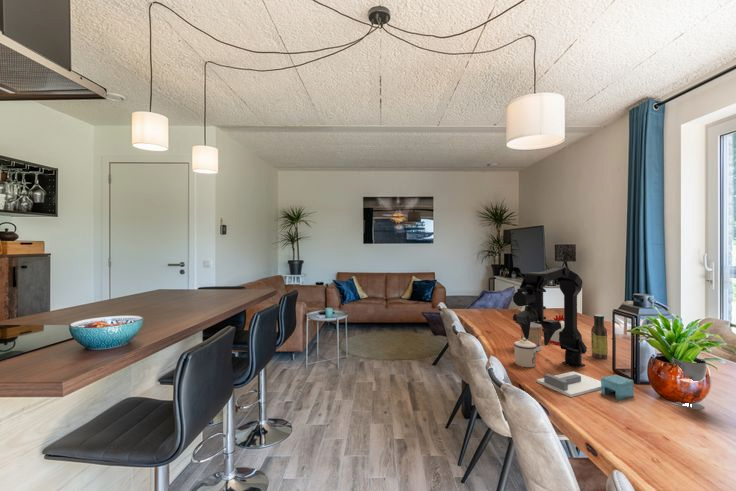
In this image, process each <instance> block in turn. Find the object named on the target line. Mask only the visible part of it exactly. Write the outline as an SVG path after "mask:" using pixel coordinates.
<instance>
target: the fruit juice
mask: <svg viewBox="0 0 736 491" xmlns="http://www.w3.org/2000/svg"><path fill="white" fill-rule="evenodd" d="M526 306H528V305H526ZM524 310H525V306H521V310H520V312H522V311H524ZM538 322H539V321H538ZM523 338H525V337H524V334H523V331H522V329H521V328H520V340H523ZM527 340H528V341H530V342H532V343H534V344H535V345H536V352H540V351H541V350H542V325H540V324H537V323H533V322H531V324H530V331H529V337H528V339H527Z"/></svg>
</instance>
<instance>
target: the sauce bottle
mask: <svg viewBox="0 0 736 491" xmlns="http://www.w3.org/2000/svg"><path fill="white" fill-rule="evenodd" d="M593 320H594V321H593V325H592V327H591V329H590V330H591V332H590V334H591V336H590V337H591V338H590V340H591V342H590V344H591V345H590V346H591V355H592V357H594V358H596V359H601V358H604V359H603V360H605V359H608V354H609V353H608V352H609V351H608V330H607V328H606V326H605V323H604V321H605V316H604V315H603V314H599V313H598V314H594V315H593Z"/></svg>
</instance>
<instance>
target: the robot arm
mask: <svg viewBox="0 0 736 491" xmlns="http://www.w3.org/2000/svg"><path fill="white" fill-rule="evenodd" d="M554 280H556V282H557V283H558V285H559V289H560V292H562V294H563V318H564V328H563V330H562V331H560V332H559V342H560V345H559V346H560V349H561V350H565V351H564V352H565V353H564V361H562V362H561V363H562V364H564V365H567V366H570V367H573V368H581V367H585V366H586V364H585V363H583V362H582V354H583V355H584V354H585V355H586V353H587V349H588V348H587V345H586V344H585V343H584V342H583V338H582V337H583V336H582V334H581V332H580V330H579V329H578V295H579V294H580V292H581V291H582V286H583V280H582V278H581V276H579V274H577V273H576V272H574V271H572V270H571V269H570V268H569V267H567V266H555V267H553V268H550V269H547V270H544V271H543V270H542V271H541V272H540V271H539V272H533V271H532V272H530V271H529V272H526V274H525V275H524V276H523V280H522V282H521V284H520V286H519V288H517V290H516V292H514V294H513V296H512V300H513V304H515V305H516V306H517V307H523V306H525V310H524V311H522V312H521V311H520V312H518V313H517V312H516V313H514V314H513V316H512V321H514V322H515V323H516V324H518V325H519V327H520V330H521V329H522V331H523V334H524V337H525V339H528V337H529V331H530V324H531V322H533V323H537V324H540V325H541V332H543V344H544V346H545V347H546V346H548V345H549V343H550V342H549V341H550V339H551V337H552V335H553V334H554V333H555V331H556V330H558V329H561V323H560V322H559V321H555V320H554V319H547V317H546V316H544V315H545V314H544V310H546V309H547V306H544V293H547V289H545V288H544V287H546V286H548V285H549V282H551V281H554ZM526 305H528V306H526ZM546 319H547V320H546ZM538 321H539V322H538Z"/></svg>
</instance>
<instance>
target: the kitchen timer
mask: <svg viewBox="0 0 736 491" xmlns="http://www.w3.org/2000/svg"><path fill="white" fill-rule="evenodd" d="M553 320H555V321H559V322H560V323H561V329H558V330H556V331H555V333H554V334H553V335H552V337H551V339H550V341H549V343H550V344H552V343H553V345H556V344H557V345H558V346H560V342H559V332H560V331H562V330H563V328H564V314H559V315H555V317H553Z"/></svg>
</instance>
